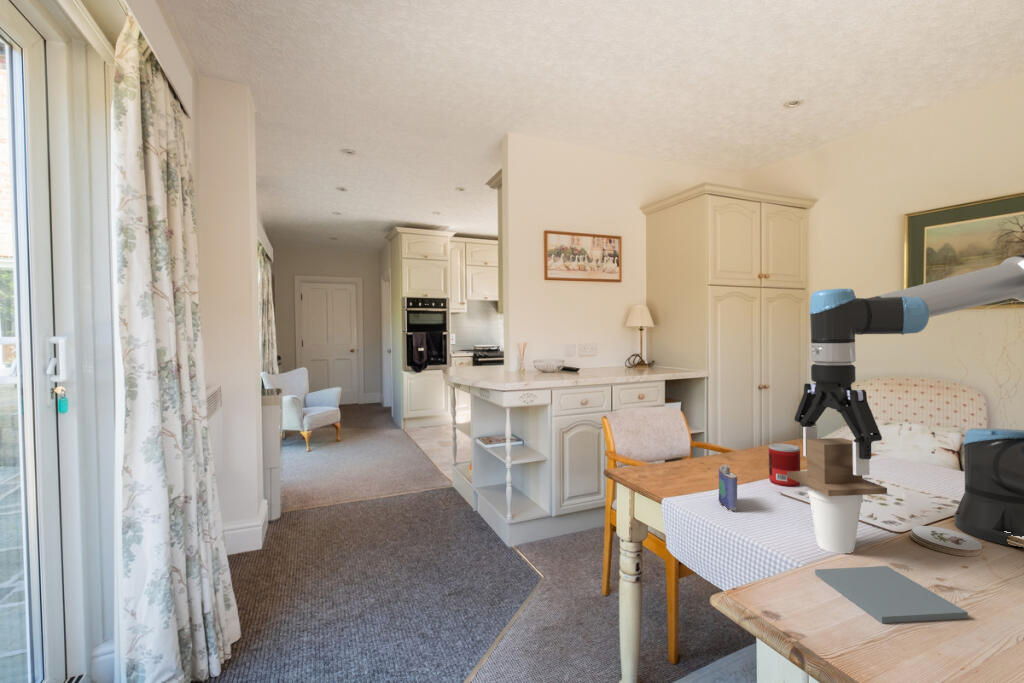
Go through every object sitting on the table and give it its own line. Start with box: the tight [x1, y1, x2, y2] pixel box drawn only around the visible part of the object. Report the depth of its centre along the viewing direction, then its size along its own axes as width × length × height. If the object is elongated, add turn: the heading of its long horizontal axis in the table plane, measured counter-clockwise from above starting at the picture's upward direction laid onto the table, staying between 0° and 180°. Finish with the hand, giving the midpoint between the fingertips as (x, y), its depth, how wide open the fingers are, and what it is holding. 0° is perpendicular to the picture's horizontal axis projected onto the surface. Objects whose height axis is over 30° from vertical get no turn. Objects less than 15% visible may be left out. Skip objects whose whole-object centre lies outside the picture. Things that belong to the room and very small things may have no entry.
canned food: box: [768, 443, 801, 488], centre depth 133 cm, size 8×8×11 cm
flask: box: [718, 464, 739, 512], centre depth 116 cm, size 9×3×11 cm, turn 172°
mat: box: [814, 565, 969, 624], centre depth 76 cm, size 14×14×1 cm
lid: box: [787, 437, 888, 496], centre depth 93 cm, size 12×12×9 cm
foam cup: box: [806, 486, 864, 555], centre depth 93 cm, size 10×9×13 cm
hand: (833, 464), depth 93 cm, fingers open, 13 cm apart
